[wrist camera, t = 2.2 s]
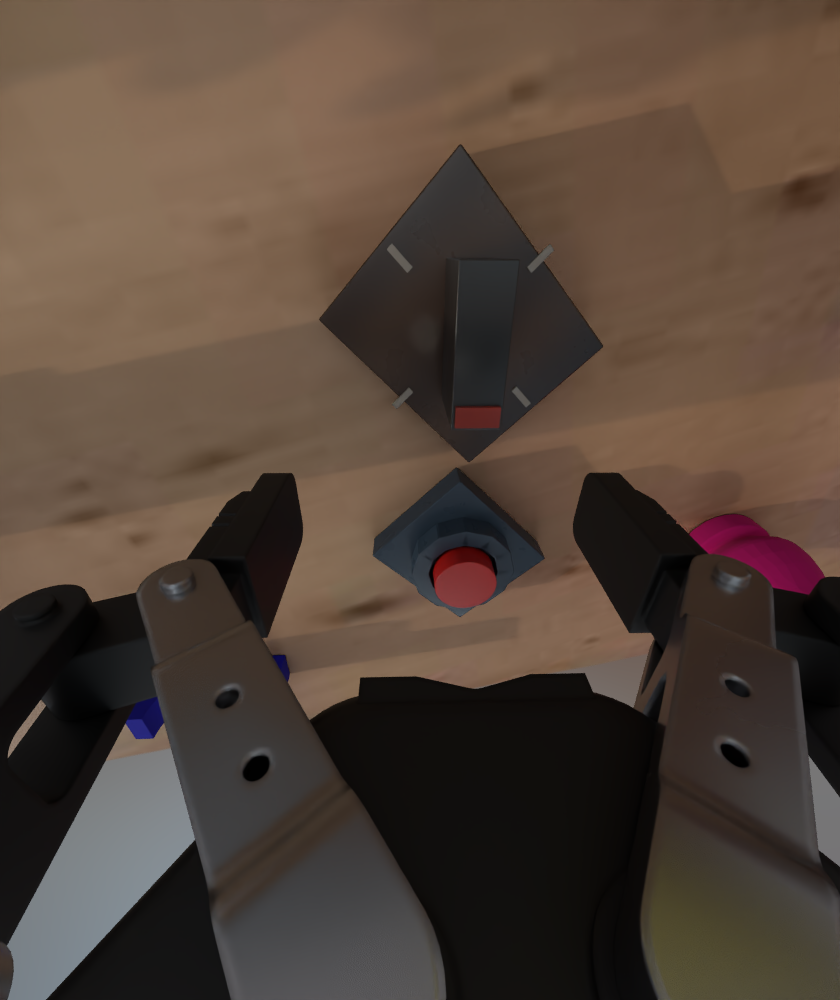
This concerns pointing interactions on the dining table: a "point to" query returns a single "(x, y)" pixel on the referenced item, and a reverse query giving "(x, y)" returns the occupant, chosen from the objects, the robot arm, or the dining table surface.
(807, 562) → the pepper mill
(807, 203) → the dining table surface
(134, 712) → the blue notched block
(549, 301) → the switch base
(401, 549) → the button box
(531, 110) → the dining table surface
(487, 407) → the selector knob handle
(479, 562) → the button
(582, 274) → the dining table surface
